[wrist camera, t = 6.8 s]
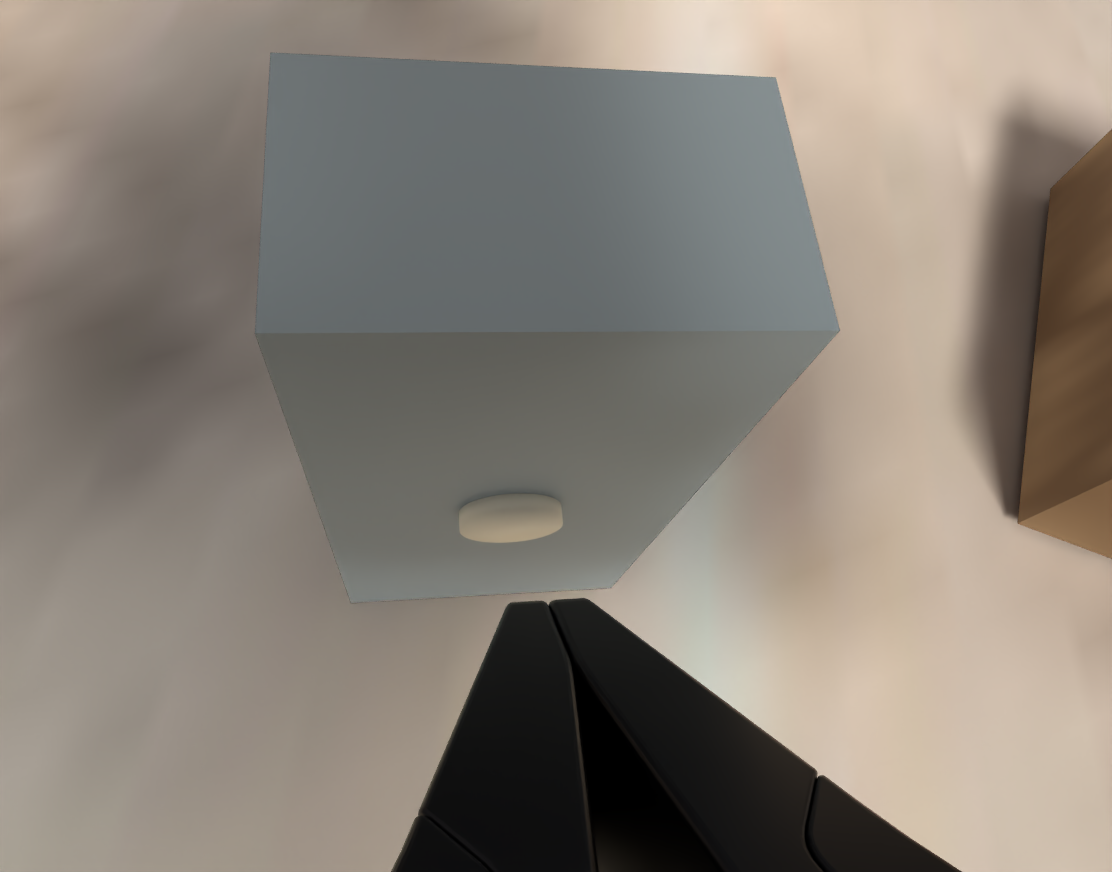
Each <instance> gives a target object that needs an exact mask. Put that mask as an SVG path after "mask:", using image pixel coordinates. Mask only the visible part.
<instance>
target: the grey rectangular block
mask: <svg viewBox="0 0 1112 872" xmlns="http://www.w3.org/2000/svg"><path fill="white" fill-rule="evenodd" d="M839 331H840V329H839V325H838V321H837V317H836V313H835V310H834V306H833V302H832V298H831V294H830V290H829V286H828V282H827V278H826V274H825V270H824V266H823V262H822V258H821V254H820V250H819V246H818V242H817V238H816V234H815V231H814V227H813V223H812V219H811V215H810V211H809V207H808V203H807V199H806V195H805V191H804V187H803V183H802V179H801V175H800V171H799V167H798V163H797V159H796V155H795V152H794V148H793V144H792V140H791V136H790V132H789V128H788V124H787V120H786V116H785V112H784V108H783V104H782V100H781V96H780V92H779V88H778V84H777V80H776V78H775V77H754V76H734V75H714V74H694V73H673V72H653V71H633V70H613V69H592V68H572V67H552V66H532V65H512V64H491V63H471V62H451V61H431V60H410V59H390V58H370V57H350V56H330V55H309V54H289V53H270V70H269V89H268V107H267V125H266V143H265V161H264V179H263V198H262V216H261V234H260V252H259V270H258V289H257V307H256V325H255V335H256V337H257V340H258V343H259V346H260V349H261V352H262V354H263V357H264V360H265V363H266V366H267V368H268V371H269V374H270V377H271V380H272V382H273V385H274V388H275V391H276V394H277V397H278V399H279V402H280V405H281V408H282V411H283V413H284V416H285V419H286V422H287V425H288V427H289V430H290V433H291V436H292V439H293V441H294V444H295V447H296V450H297V453H298V456H299V458H300V461H301V464H302V467H303V470H304V472H305V475H306V478H307V481H308V484H309V486H310V489H311V492H312V495H313V498H314V500H315V503H316V506H317V509H318V512H319V515H320V517H321V520H322V523H323V526H324V529H325V531H326V534H327V537H328V540H329V543H330V545H331V548H332V551H333V554H334V557H335V559H336V562H337V565H338V568H339V571H340V574H341V576H342V579H343V582H344V585H345V588H346V590H347V593H348V596H349V599H350V602H351V603H360V602H377V601H395V600H412V599H429V598H446V597H464V596H481V595H498V594H515V593H533V592H550V591H567V590H585V589H602V588H611V587H612V586H613V585H614V584H615V583H616V582H617V580H618V579H619V578H620V577H621V576H622V575H623V574H624V573H625V571H626V570H627V569H628V568H629V567H630V566H631V565H632V564H633V562H634V561H635V560H636V559H637V558H638V557H639V556H640V555H641V553H642V552H643V551H644V550H645V549H646V548H647V547H648V546H649V545H650V543H651V542H652V541H653V540H654V539H655V538H656V537H657V536H658V534H659V533H660V532H661V531H662V530H663V529H664V528H665V527H666V525H667V524H668V523H669V522H670V521H671V520H672V519H673V518H674V516H675V515H676V514H677V513H678V512H679V511H680V510H681V509H682V507H683V506H684V505H685V504H686V503H687V502H688V501H689V500H690V498H691V497H692V496H693V495H694V494H695V493H696V492H697V491H698V489H699V488H700V487H701V486H702V485H703V484H704V483H705V482H706V480H707V479H708V478H709V477H710V476H711V475H712V474H713V473H714V471H715V470H716V469H717V468H718V467H719V466H720V465H721V464H722V462H723V461H724V460H725V459H726V458H727V457H728V456H729V455H730V453H731V452H732V451H733V450H734V449H735V448H736V447H737V446H738V444H739V443H740V442H741V441H742V440H743V439H744V438H745V437H746V435H747V434H748V433H749V432H750V431H751V430H752V429H753V428H754V426H755V425H756V424H757V423H758V422H759V421H760V420H761V419H762V417H763V416H764V415H765V414H766V413H767V412H768V411H769V410H770V408H771V407H772V406H773V405H774V404H775V403H776V402H777V401H778V399H779V398H780V397H781V396H782V395H783V394H784V393H785V392H786V390H787V389H788V388H789V387H790V386H791V385H792V384H793V383H794V381H795V380H796V379H797V378H798V377H799V376H800V375H801V374H802V373H803V371H804V370H805V369H806V368H807V367H808V366H809V365H810V364H811V362H812V361H813V360H814V359H815V358H816V357H817V356H818V355H819V353H820V352H821V351H822V350H823V349H824V348H825V347H826V346H827V344H828V343H829V342H830V341H831V340H832V339H833V338H834V337H835V335H836V334H837V333H838V332H839Z"/></svg>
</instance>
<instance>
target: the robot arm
mask: <svg viewBox="0 0 1112 872" xmlns="http://www.w3.org/2000/svg"><path fill="white" fill-rule="evenodd" d="M391 872H961V871H960V870H958V869H957V868H955V867H954V866H952V865H951V864H949V863H948V862H946V861H945V860H943V859H942V858H940V857H939V856H937V855H935V854H934V853H932V852H931V851H929V850H928V849H926V848H925V847H923V846H922V845H920V844H919V843H917V842H916V841H914V840H913V839H911V838H910V837H908V836H907V835H905V834H904V833H902V832H901V831H900V830H898V829H897V828H895V827H894V826H893V825H891V824H890V823H888V822H887V821H886V820H884V819H883V818H881V817H880V816H879V815H877V814H876V813H874V812H873V811H872V810H870V809H869V808H867V807H866V806H865V805H863V804H862V803H860V802H859V801H858V800H856V799H855V798H854V797H852V796H851V795H850V794H848V793H847V792H846V791H844V790H843V789H842V788H840V787H839V786H838V785H836V784H835V783H834V782H832V781H831V780H829V779H828V778H827V777H825V776H823V775H820V776H818V778H817V771H816V770H815V769H814V768H813V767H812V766H810V765H809V764H808V763H806V762H805V761H804V760H802V759H801V758H800V757H798V756H797V755H796V754H794V753H793V752H792V751H790V750H789V749H788V748H786V747H785V746H784V745H782V744H781V743H780V742H778V741H777V740H776V739H774V738H773V737H772V736H770V735H769V734H768V733H766V732H765V731H764V730H762V729H761V728H760V727H758V726H757V725H756V724H754V723H753V722H752V721H750V720H749V719H748V718H746V717H745V716H744V715H742V714H741V713H740V712H738V711H737V710H736V709H734V708H733V707H732V706H730V705H729V704H728V703H726V702H725V701H724V700H722V699H721V698H720V697H718V696H717V695H716V694H714V693H713V692H712V691H710V690H709V689H708V688H706V687H705V686H704V685H702V684H701V683H700V682H698V681H697V680H696V679H694V678H693V677H692V676H690V675H689V674H688V673H686V672H685V671H684V670H682V669H681V668H680V667H678V666H677V665H676V664H674V663H673V662H672V661H670V660H669V659H668V658H666V657H665V656H664V655H662V654H661V653H660V652H658V651H657V650H656V649H654V648H653V647H652V646H650V645H649V644H648V643H646V642H645V641H644V640H642V639H641V638H640V637H638V636H637V635H636V634H634V633H633V632H632V631H630V630H629V629H628V628H626V627H625V626H624V625H622V624H621V623H620V622H618V621H617V620H615V619H614V618H613V617H611V616H610V615H609V614H607V613H606V612H605V611H603V610H602V609H601V608H599V607H598V606H597V605H595V604H594V603H593V602H591V601H590V600H588V599H585V598H578V599H562V600H553V601H551V602H550V603H549V605H547V603H546V602H544V601H528V602H512V603H510V604H508V605H507V607H506V609H505V611H504V613H503V615H502V618H501V620H500V622H499V625H498V627H497V629H496V632H495V634H494V636H493V639H492V641H491V643H490V646H489V648H488V650H487V653H486V655H485V657H484V660H483V662H482V664H481V667H480V669H479V671H478V674H477V676H476V678H475V681H474V683H473V685H472V688H471V690H470V692H469V695H468V697H467V699H466V702H465V704H464V706H463V709H462V711H461V713H460V716H459V718H458V720H457V723H456V725H455V727H454V730H453V732H452V734H451V737H450V739H449V741H448V744H447V746H446V748H445V751H444V753H443V755H442V758H441V760H440V762H439V765H438V767H437V770H436V772H435V774H434V777H433V779H432V781H431V784H430V786H429V788H428V791H427V793H426V795H425V798H424V800H423V802H422V805H421V807H420V809H419V813H418V816H417V817H416V818H415V820H414V822H413V824H412V827H411V829H410V831H409V834H408V836H407V838H406V841H405V843H404V845H403V848H402V850H401V852H400V854H399V856H398V858H397V860H396V862H395V865H394V867H393V869H392V871H391Z"/></svg>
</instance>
